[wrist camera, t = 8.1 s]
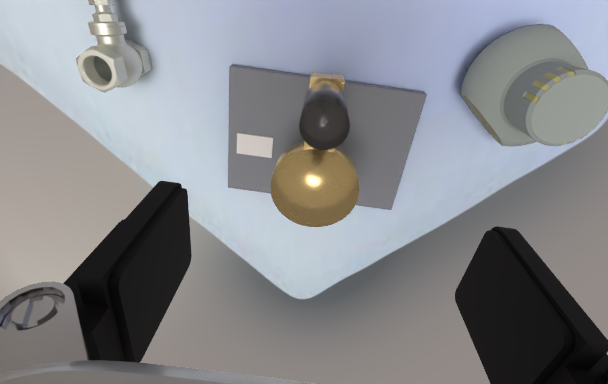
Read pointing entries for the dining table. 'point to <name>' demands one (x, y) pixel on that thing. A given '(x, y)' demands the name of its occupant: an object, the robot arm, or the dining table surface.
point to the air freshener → (535, 89)
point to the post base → (285, 132)
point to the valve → (111, 52)
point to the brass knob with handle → (318, 160)
